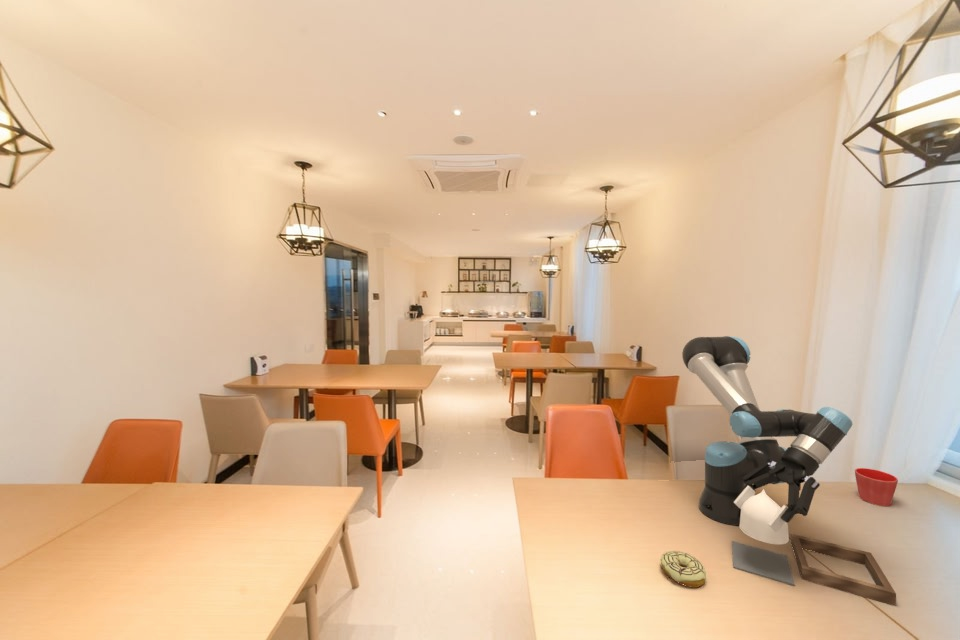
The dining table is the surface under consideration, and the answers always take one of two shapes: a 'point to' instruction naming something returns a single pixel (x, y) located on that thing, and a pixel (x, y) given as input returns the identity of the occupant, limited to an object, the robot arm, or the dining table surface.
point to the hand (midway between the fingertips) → (754, 516)
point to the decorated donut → (683, 568)
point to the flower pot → (875, 486)
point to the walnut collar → (861, 588)
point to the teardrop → (762, 519)
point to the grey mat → (762, 562)
